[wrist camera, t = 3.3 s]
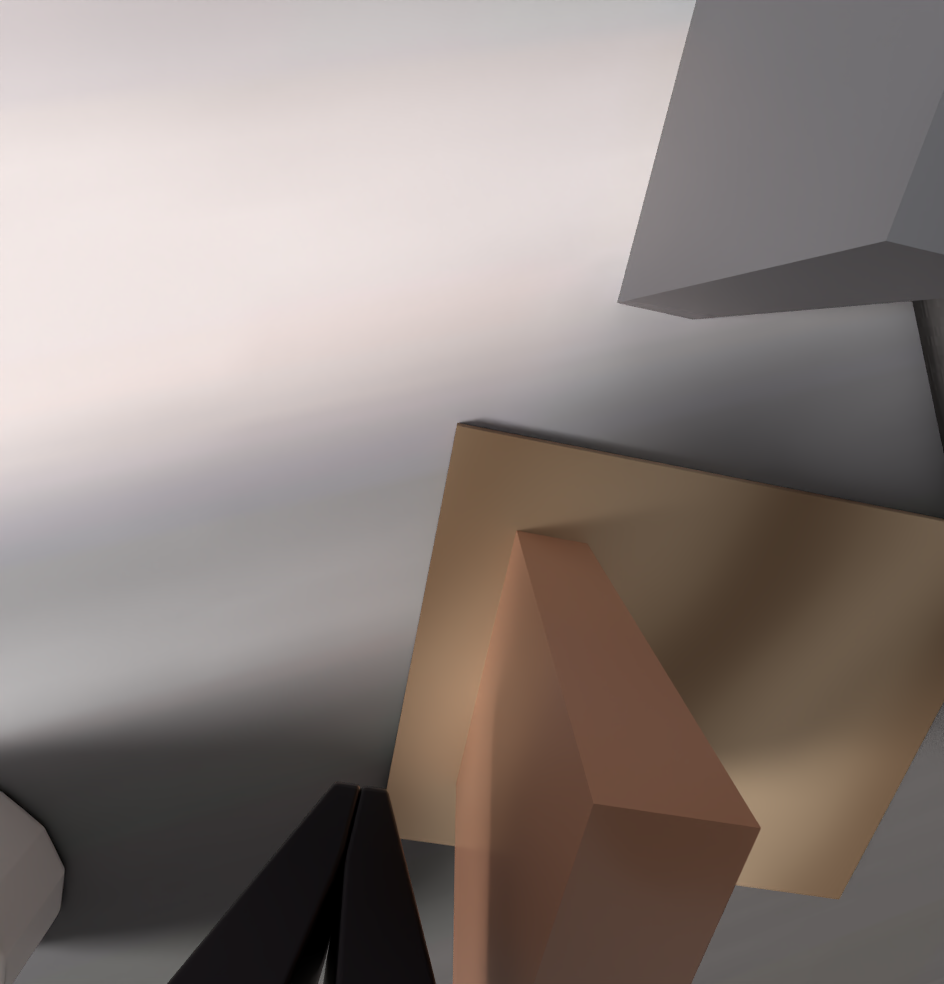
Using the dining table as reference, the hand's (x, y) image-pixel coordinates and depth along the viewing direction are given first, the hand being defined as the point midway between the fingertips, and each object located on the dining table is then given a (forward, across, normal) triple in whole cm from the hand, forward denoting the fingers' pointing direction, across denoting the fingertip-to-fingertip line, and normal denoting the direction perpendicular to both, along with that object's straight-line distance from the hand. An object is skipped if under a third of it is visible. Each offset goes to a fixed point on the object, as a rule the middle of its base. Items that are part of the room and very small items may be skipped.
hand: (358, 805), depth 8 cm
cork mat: (+5, -7, 0) cm, 8 cm away
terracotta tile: (+4, -3, 0) cm, 5 cm away
